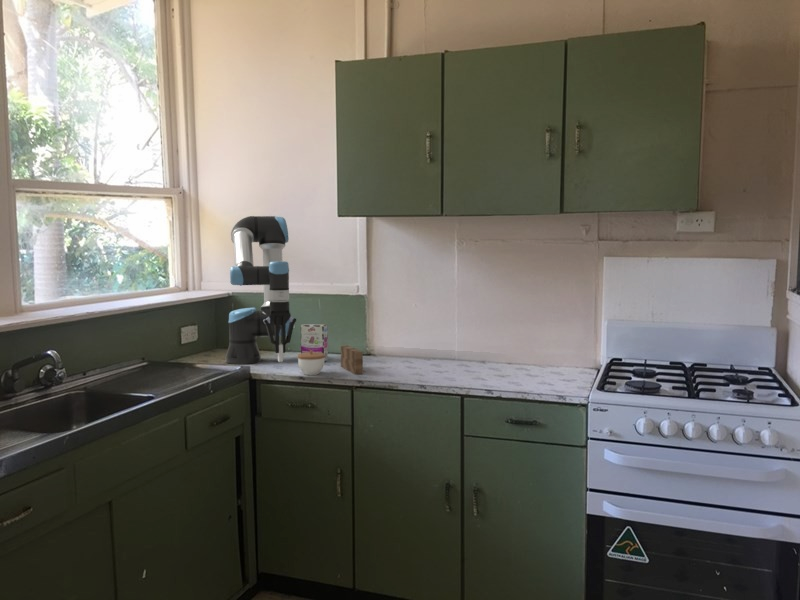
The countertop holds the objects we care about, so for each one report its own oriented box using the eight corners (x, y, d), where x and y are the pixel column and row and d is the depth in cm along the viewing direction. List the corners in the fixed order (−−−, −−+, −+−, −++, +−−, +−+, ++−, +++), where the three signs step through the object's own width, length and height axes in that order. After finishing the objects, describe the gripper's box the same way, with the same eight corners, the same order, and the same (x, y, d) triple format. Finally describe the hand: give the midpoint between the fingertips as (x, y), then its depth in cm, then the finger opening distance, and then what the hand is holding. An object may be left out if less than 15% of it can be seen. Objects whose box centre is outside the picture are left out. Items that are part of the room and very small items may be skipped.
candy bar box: (328, 360, 288) (328, 324, 287) (323, 362, 284) (323, 325, 282) (305, 359, 292) (305, 323, 290) (300, 361, 287) (300, 324, 285)
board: (341, 366, 274) (340, 345, 273) (347, 366, 275) (347, 345, 275) (355, 374, 258) (355, 352, 257) (362, 374, 259) (362, 351, 258)
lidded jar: (304, 370, 266) (304, 347, 266) (329, 371, 263) (328, 349, 263) (293, 375, 256) (293, 352, 255) (318, 377, 253) (318, 353, 252)
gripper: (264, 302, 246) (265, 363, 248) (298, 301, 251) (299, 361, 253) (260, 300, 253) (261, 360, 255) (293, 299, 258) (294, 358, 260)
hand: (280, 361), depth 254 cm, fingers closed
